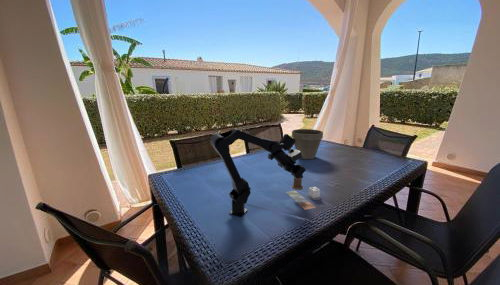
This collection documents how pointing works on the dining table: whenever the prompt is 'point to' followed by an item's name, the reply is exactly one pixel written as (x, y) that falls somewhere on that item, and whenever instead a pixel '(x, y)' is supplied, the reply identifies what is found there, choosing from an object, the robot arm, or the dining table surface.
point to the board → (300, 200)
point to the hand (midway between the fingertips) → (300, 175)
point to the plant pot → (307, 142)
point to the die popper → (314, 193)
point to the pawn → (297, 184)
